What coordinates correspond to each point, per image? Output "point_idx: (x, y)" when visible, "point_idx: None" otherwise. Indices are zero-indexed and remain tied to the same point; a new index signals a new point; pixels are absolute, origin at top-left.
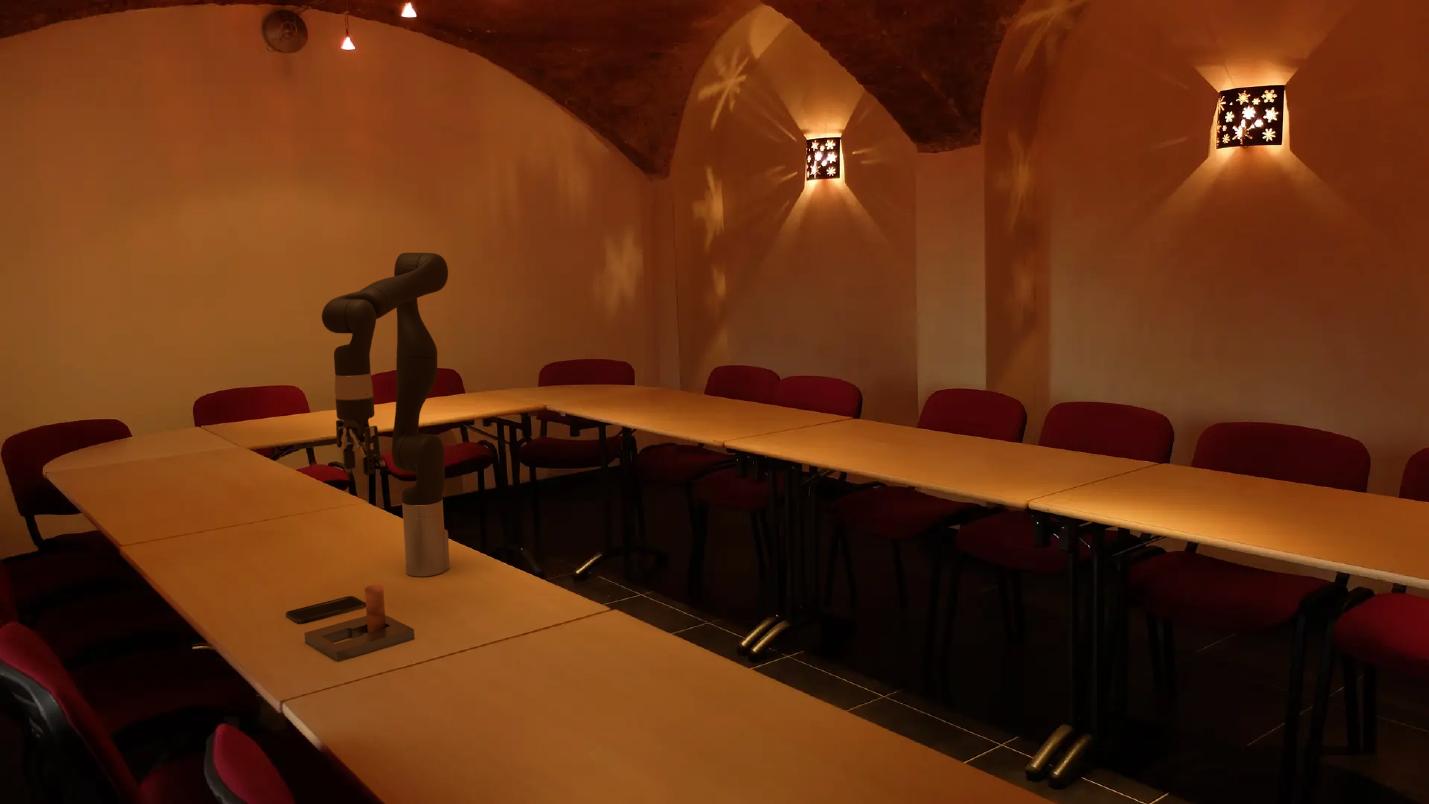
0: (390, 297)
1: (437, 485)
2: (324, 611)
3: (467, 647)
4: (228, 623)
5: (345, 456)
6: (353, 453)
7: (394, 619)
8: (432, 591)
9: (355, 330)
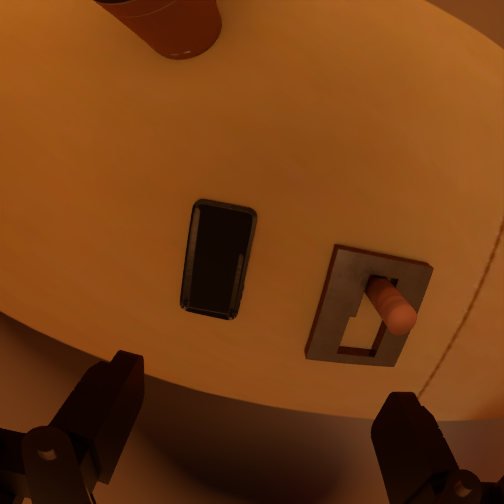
0: None
1: None
2: (225, 273)
3: (492, 245)
4: (151, 357)
5: (115, 459)
6: (101, 431)
7: (385, 258)
8: (290, 89)
9: None
